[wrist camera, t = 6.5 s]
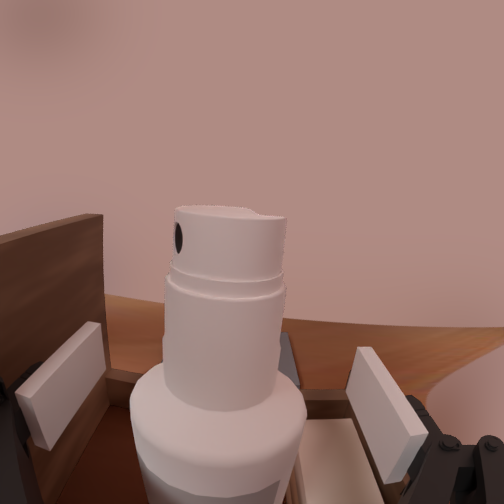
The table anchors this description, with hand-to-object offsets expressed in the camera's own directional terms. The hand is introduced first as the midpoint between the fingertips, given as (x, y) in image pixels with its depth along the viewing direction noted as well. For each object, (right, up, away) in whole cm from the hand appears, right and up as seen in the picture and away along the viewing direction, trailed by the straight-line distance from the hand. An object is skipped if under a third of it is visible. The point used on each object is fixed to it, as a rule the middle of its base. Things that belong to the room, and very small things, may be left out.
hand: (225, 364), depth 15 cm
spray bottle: (-1, -11, -1) cm, 11 cm away
